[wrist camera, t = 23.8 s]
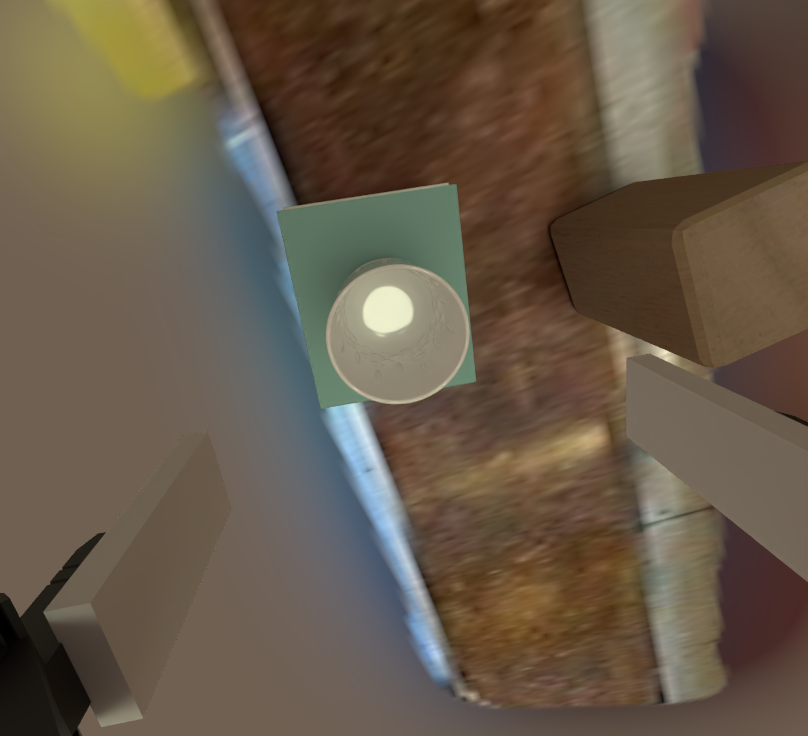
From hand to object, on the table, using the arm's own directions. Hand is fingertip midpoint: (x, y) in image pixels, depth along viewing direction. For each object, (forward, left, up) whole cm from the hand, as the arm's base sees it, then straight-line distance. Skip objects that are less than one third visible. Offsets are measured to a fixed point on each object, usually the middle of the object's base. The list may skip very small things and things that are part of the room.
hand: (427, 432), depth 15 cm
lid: (0, 0, -24) cm, 24 cm away
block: (0, +23, -33) cm, 40 cm away
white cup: (0, 0, -22) cm, 22 cm away
